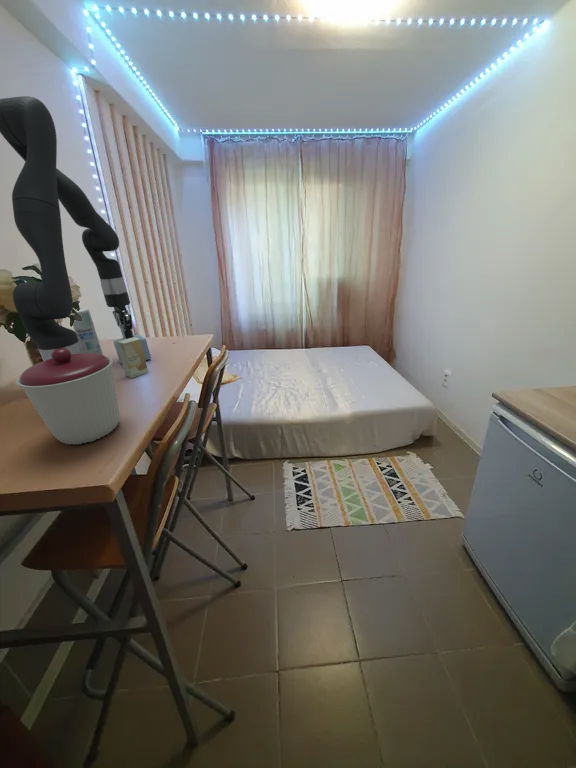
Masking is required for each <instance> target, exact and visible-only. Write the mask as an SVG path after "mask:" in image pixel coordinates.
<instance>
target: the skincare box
mask: <svg viewBox="0 0 576 768" xmlns="http://www.w3.org/2000/svg"><path fill="white" fill-rule="evenodd" d="M117 345H118V349H119V352H120V356H121V360H122V363H123V365H122V366H123V370H124V373H125V377H129V378H130V379H134V378H137V377H138V376H142V375H145V374H148V373H149V369H148V365H147V361H146V360H145V356H144V352H143V348H142V344H141V340H140V339H139V338H135V337H133V338H129V339H125V340H121V341H117Z"/></svg>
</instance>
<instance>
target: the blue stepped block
mask: <svg viewBox="0 0 576 768" xmlns="http://www.w3.org/2000/svg"><path fill="white" fill-rule="evenodd" d="M127 326H128V325H127ZM119 329H120V332H121V336H122V338H118V339H115V340H113V341H112V342H113V345H114V349H115V351H116V355H117V357H118V360H119V361H120V362H122V360H121V356H120V352H119V349H118V345H117V341H121V340H125V339H126V336H125V332H124V330H123V326H122V325H120V328H119ZM131 332H132V336H133V337H135V338H139V339H140V340H141V344H142V348H143V352H144V356H145V360H147V359H148V360H150V359H152V356H151V353H150V349H149V346H148V342H147V338H145V337H143V336H141V335H139V334H134V333H133V332H134V331H133V329H132V330H131ZM148 360H147V361H148Z"/></svg>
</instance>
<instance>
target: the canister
mask: <svg viewBox="0 0 576 768" xmlns="http://www.w3.org/2000/svg"><path fill="white" fill-rule="evenodd" d="M51 357H52V359H49V360H46V361H43V360H42V361H40V362H38V363H35V364H34V365H31V366H30V367H28V368H27V369H25V370H24V371H23V372H22V373H21V374H20V375H19V376H18V377H17V378H16V379H15V381H14V382H15V384H16V386H18V387H19V388H21V389H23V391H24V392H25V394H26V396H27V398H28V399H29V400H30V402H31V404H32V406H33V407H34V408H35V410H36V412H37V413H38V415H39V416H40V418H41V419H42V420H43V423H44V424H45V425H46V427H47V429H48V431H50V433H51V434H52V435H53V437H54V438H55V439H56V440H57V441H58V442H61V443H63V444H66V445H71V444H73V445H75V444H76V445H83V444H82V443H84V444H87V442H89V443H91V442H94V441H97V440H96V439H98V440H99V439H102V438H104V437H105V435H106V436H107V435H109V434H110V433H111V432H113V429H114V430H115V429H116V427H117V426H118V424H119V420H120V410H119V403H118V397H117V390H116V386H115V381H114V380H115V379H114V374H113V369H112V365H113V362H114V361H113V358H112V357H111V356H108V355H104V354H103V355H101V354H97V353H78V354H71V352H70V351H69V350H68V349H66V348H59V349H56V350H54V351H53V352H52V354H51ZM101 437H102V438H101Z"/></svg>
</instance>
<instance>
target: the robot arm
mask: <svg viewBox="0 0 576 768" xmlns="http://www.w3.org/2000/svg"><path fill="white" fill-rule="evenodd" d="M54 122H55V121H54V119H53V116H52V114H51V113H50V111H49V109H48V108H47V106H46V104H44V103H43V101H41V100H40V99H38V98H36V97H34V96H25V95H22V96H12V97H6V98H5V97H4V98H0V134H1V136H2V137H3V138H4V139H5V140H6V142H7V143H8V144H9V145H10V147H11V148H12V149H13V150H14V151H15V152H16V153H17V154H18V155H19V157H21V158H22V160H23V161H24V164H23V167H22V169H21V170H20V172H19V174H18V177H17V179H16V181H15V184H14V186H13V189H12V193H11V202H12V209H13V211H12V213H13V218H14V219H13V220H14V222H15V226H16V228H17V231H18V232H19V233H20V235H21V236H22V237H23V239H24V240H25V242H26V243H27V244H28V245H29V246H30V248H31V249H32V251H33V252H34V253H35V255H36V257H37V259H38V261H39V265H40V270H41V279H42V280H41V281H29V282H28V281H27V282H21V283H19V284H17V285H16V286H15V287H14V289H13V292H12V301H13V303H14V308H15V310H16V312H17V314H18V316H19V318H20V320H21V322H22V324H23V326H24V329H25V330H26V332H27V334H28V336H29V338H30V339H31V340H32V341H33V342H34V343H35V344H36V347H37V349H38V350H39V354H40V356H41V358H42V362H43V361H46V360H49V359H52V357H51V354H52V352H53V351H54V350H56V349H59V348H66V349H68V350H69V351H70V352H71V354H78V353H83V351H82V348H81V345H80V343H79V340H78V337H77V334H76V333H75V330H74V329H71V328H67V327H64V326H63V325H60V324H59V323H57V322H56V320H62V319H66V318H68V317H69V316H70V314H71V312H72V310H73V309H74V308H73V307H74V302H73V301H74V300H73V294H72V289H71V283H70V279H69V275H68V270H67V264H66V257H65V252H64V251H65V250H64V242H63V240H64V239H63V231H62V217H61V208H60V203H61V205H62V207H63V209H65V210H66V212H67V214H69V216H70V218H71V219H72V220H73V222H74V223H75V224H76V225H77V226H79V227H82V228H85V229H84V230H83V231H82V234H81V241H82V243H83V246H84V248H85V250H86V251H87V253H88V255H89V256H90V258H91V260H92V261H93V263H94V264H95V265H94V266H95V267H96V270H97V274H98V277H99V281H100V286H101V290H102V293H103V296H104V300H105V304H106V306H107V307H108V308H113V310H112V314H113V317H114V319H115V321H116V324H117V326H118V328H119V329H120V325H122V326H123V330H124V332H125V336H126V339H129V338H133V336H132V332H133V330H134V329H133V321H132V320H133V319H132V314H130V313H129V310H127V307H126V306H129V305H130V304H131V301H130V300H131V299H130V295H129V293H128V288H127V285H126V283H125V280H124V277H123V274H122V270H121V266H120V262H119V261H118V260H116V259H113V258H108V257H107V256H106V255H105V253H104V252H114V251H116V250H118V249H119V247H120V240H119V237H118V234H117V232H116V231H115V230H114V228H113V227H112V226H111V225H110V224H109V223H108V222H107V221H106V220H105V219H104V218H103V217H102V215H100V214H99V213H98V212H97V211H96V209H95V207H94V206H93V204H92V203H91V201H90V200H89V198H88V196H87V195H86V193H85V192H84V190H83V189H82V188H81V187H80V186H79V185H78V184H76V183H75V181H73V180H72V179H71V178H69V177H68V176H67V175H66V174H64V173H63V172H62V171H61V170H60V169H58V168H57V151H58V150H57V146H58V145H57V144H58V140H57V132H56V131H57V130H56V125H55V123H54ZM127 325H128V326H127ZM131 330H132V332H131Z"/></svg>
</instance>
